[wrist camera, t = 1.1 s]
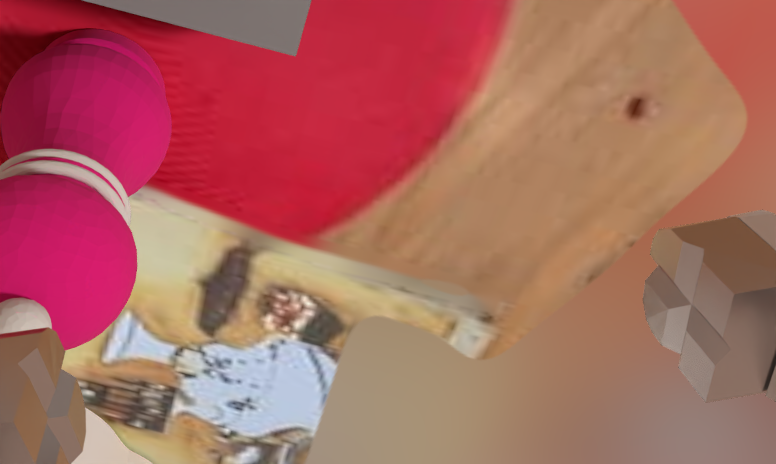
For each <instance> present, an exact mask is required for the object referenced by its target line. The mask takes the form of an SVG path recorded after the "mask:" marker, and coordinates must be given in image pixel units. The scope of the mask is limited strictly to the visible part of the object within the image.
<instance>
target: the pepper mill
mask: <svg viewBox="0 0 776 464" xmlns="http://www.w3.org/2000/svg"><path fill="white" fill-rule="evenodd" d="M0 125H1V134H2V140H3V144H4V149H5V151H6V154H7V156H8V158H9V160H7V161H5V162H4V163H3V164H2V165H1V166H0V334H3V333H11V332H18V331H25V330H32V329H39V328H46V327H49V328H51V329H52V330H54V331H56V332H57V335H58V337H59V339H60V341H61V343H62V346H63V348H64V350H68V349H71V348H75V347H77V346H79V345H82V344H84V343H86V342H88V341H90V340H92V339H93V338H95V337H96V336H98V335H99V334H101V333H102V332H103V331H104V330H105V329H106V328H107V327H108V326H109V325H110V324H111V323H112V322H113V321H114V320H115V319H116V318H117V317H118V315H119V314H120V312H121V311H122V309H123V308H124V306H125V305H126V303H127V301H128V299H129V297H130V295H131V292H132V289H133V286H134V283H135V279H136V272H137V249H136V246H135V242H134V239H133V235H132V232H131V230H130V228H129V226H130V222H131V207H130V202H129V199H128V197H129V196H130V195H132V194H134V193H135V192H137V191H138V190H139V189H140V188H141V187H142V186H143V185H145V184H146V183H147V181H148V180H149V179H150V178H151V177H152V176H153V175H154V174H155V173H156V172H157V170H158V168H159V167H160V165H161V163H162V161H163V159H164V158H165V155H166V152H167V149H168V146H169V142H170V138H171V130H172V122H171V113H170V109H169V106H168V103H167V99H166V97H165V86H164V80H163V77H162V75H161V73H160V70H159V68H158V66H157V65H156V63H155V62H154V60H153V59H152V57H151V56H150V55H149V54H148V53H147V52H146V51H145V50H144V49H143V48H142V47H140V46H139V45H138V44H137V43H135V42H134V41H132V40H130V39H128V38H126V37H124V36H122V35H119V34H117V33H114V32H111V31H107V30H101V29H85V30H77V31H73V32H70V33H67V34H65V35H63V36H61V37H59V38H57V39H56V40H54V41H53V42H52V43H51V44H49V45H48V46H47V47H46V48H45V50H44V51H42V52H40V53H39V54H37V55H35V56H33V57H32V58H31V59H29V60H28V61H27V62H25V63H24V64H23V65H22V66H21V67H20V68H19V69H18V71H17V72H16V73H15V74H14V76H13V78H12V79H11V81H10V83H9V85H8V88H7V90H6V93H5V96H4V99H3V102H2V107H1V113H0Z"/></svg>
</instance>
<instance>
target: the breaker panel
mask: <svg viewBox="0 0 776 464" xmlns="http://www.w3.org/2000/svg"><path fill="white" fill-rule="evenodd" d="M83 1H86V2H90V3H94V4H98V5H102V6H106V7H109V8H113V9H117V10H121V11H125V12H128V13H132V14H136V15H140V16H144V17H148V18H151V19H155V20H159V21H163V22H167V23H170V24H174V25H178V26H182V27H186V28H190V29H193V30H197V31H201V32H205V33H209V34H212V35H216V36H220V37H224V38H228V39H231V40H235V41H239V42H243V43H247V44H251V45H254V46H258V47H262V48H266V49H270V50H273V51H277V52H281V53H285V54H289V55H293V56H296V54H297V50H298V46H299V43H300V39H301V36H302V32H303V28H304V25H305V21H306V18H307V14H308V10H309V7H310V3H311V0H83Z"/></svg>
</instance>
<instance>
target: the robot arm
mask: <svg viewBox="0 0 776 464" xmlns="http://www.w3.org/2000/svg"><path fill="white" fill-rule="evenodd" d="M650 255H651V256H652V258H653V259H654V261H655V262H656V263H657V265H658V267H657V268H656V269H655V270H654V271H653V272H652V273H651V275H650V276H649V277H648V278H647V279H646V281H645V288H644V296H643V304H644V310H645V315H646V320H647V322H648V324H649V326H650V328H651V331H652V333H653V334H654V336H655V337H656V338H657V340H658V341H659V342H660V343H661V345H662V346H665V347H666V348H669V349H670V350H673V351H675V352H677V353H679V354H680V361H679V369H680V370H681V372H682V373H683V374H684V375H685V377H686V378H687V379H688V381H689V382H690V383H691V385H692V386H693V387H694V389H695V390H696V391H697V392H698V394H699V395H700V396H701V398H702V399H703V400H704V402H705V403H708V402H714V401H720V400H725V399H732V398H738V397H743V396H750V395H755V394H761V393H766V396H767V397H769V398H770V399H772V400H773V401H775V402H776V215H775V214H774V213H771V212H768V211H764V210H759V211H754V212H749V213H743V214H738V215H733V216H729V217H727V218H723V219H718V220H712V221H705V222H699V223H693V224H687V225H681V226H675V227H669V228H663V229H659V230H658V232H657V233H656V235H655V237H654V238H653V242H652V247H651V253H650ZM64 355H65V350H64V348H63V346H62V343H61V341H60V339H59V337H58V335H57V332H56V331H54V330H52V329H51V328H49V327H46V328H39V329H32V330H25V331H18V332H11V333H3V334H0V464H153V463H151V462H150V461H148V460H147V459H145V458H144V457H142V456H140V455H138V454H136V453H135V452H133V451H131V450H129V449H128V448H127V447H126V446H125V445H124V444H123V443H122V442H121V440H120V439H119V438H118V436H117V435H116V434H115V432H114V431H113V430H112V428H111V427H110V426H109V425H108V424H107V423H106V422H105V421H104V420H102V419H101V418H100V417H99V416H97V415H96V414H95V413H93V412H92V411H90V410H88V409H87V408H85V405H84V400H83V396H82V392H81V389H80V387H79V384H78V382H77V379H76V378H75V377H74V376H72V375H70V374H69V373H67V372H65V371H64V370H62V369H61V366H62V363H63V359H64Z"/></svg>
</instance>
